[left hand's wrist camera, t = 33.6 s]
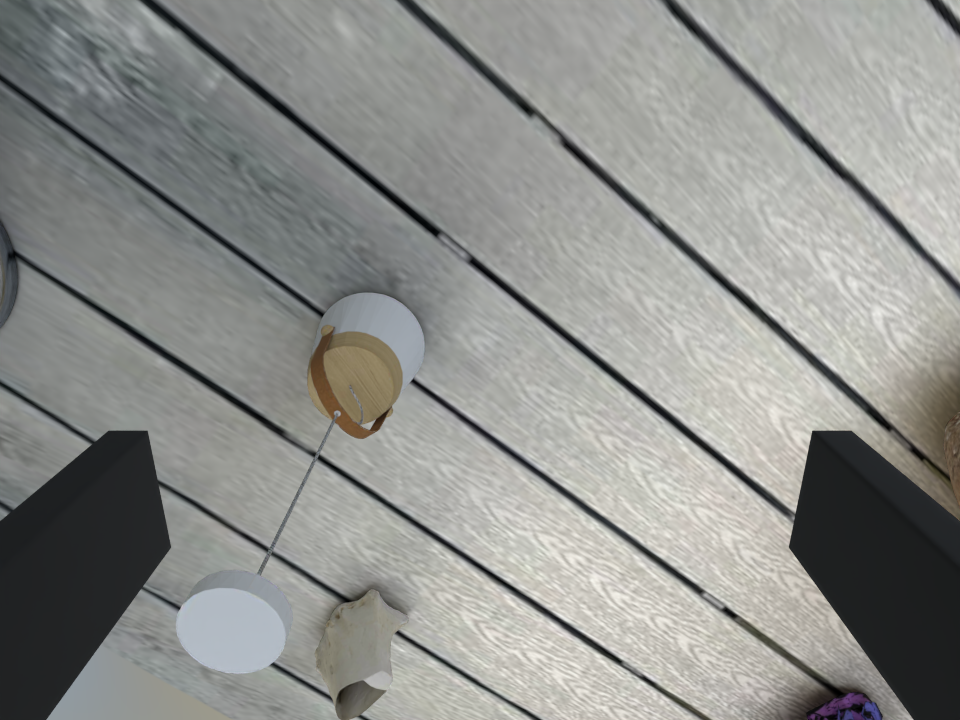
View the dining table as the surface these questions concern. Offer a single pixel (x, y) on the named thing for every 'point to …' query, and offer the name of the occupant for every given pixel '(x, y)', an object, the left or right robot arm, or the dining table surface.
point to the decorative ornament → (847, 709)
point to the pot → (953, 453)
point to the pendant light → (349, 403)
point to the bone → (358, 653)
